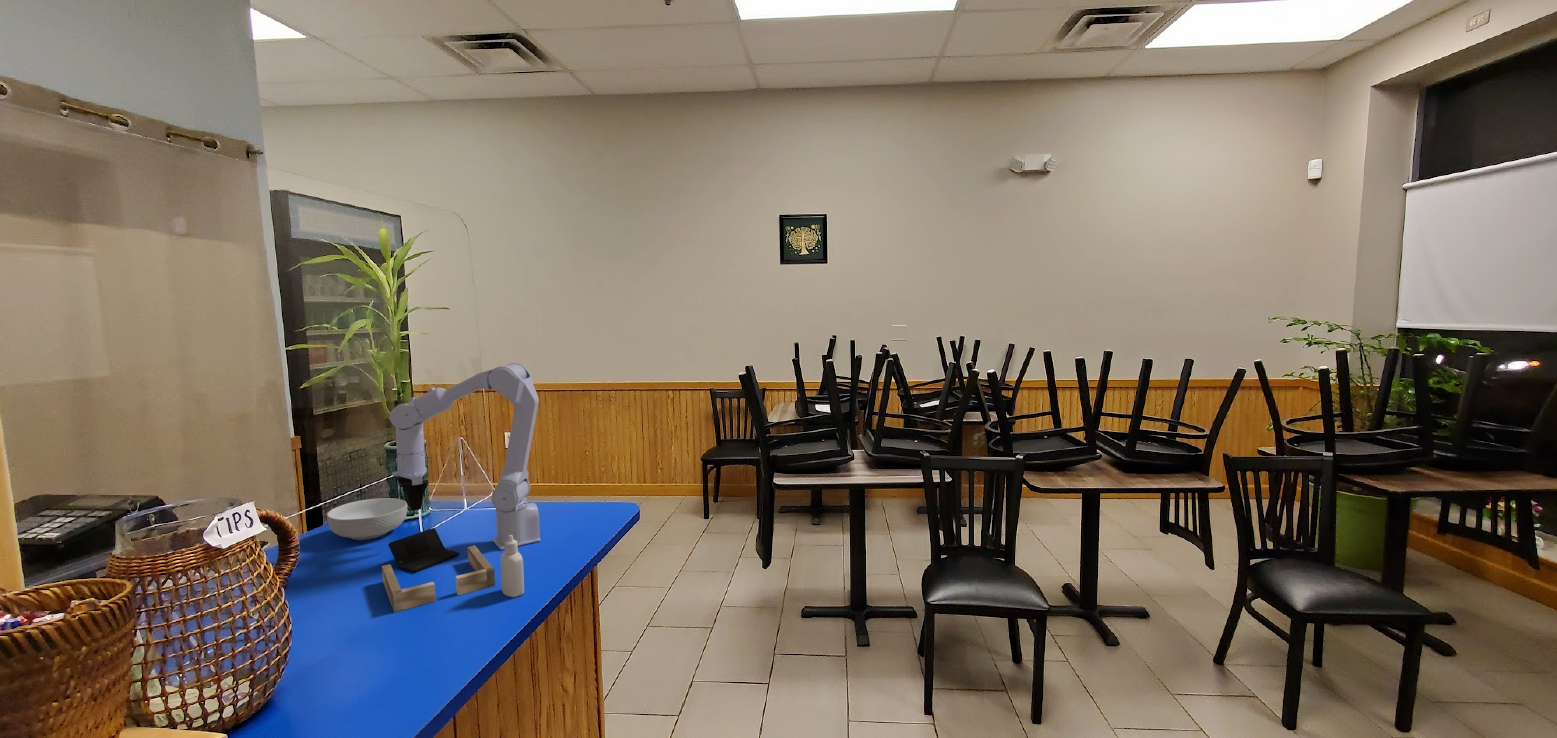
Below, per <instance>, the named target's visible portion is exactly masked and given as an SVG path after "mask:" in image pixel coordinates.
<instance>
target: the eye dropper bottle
mask: <svg viewBox="0 0 1557 738" xmlns="http://www.w3.org/2000/svg"><path fill="white" fill-rule="evenodd" d="M504 545H505V549H504V552H503V553H501V555H500V577H501V579H500V580H501V581H500V582H501V584H500V585H501V592H502V593H503V595H505V596H506V597H509V598H516V597H520V596H522V595H524V594H525V581H524V579H525V578H524V577H525V576H524V559H523V556H522V554H521V553H520V552H519V549H518V547H519V546H518V542H517V541H516V540H514V539H513V535H509V538H508V541H506V542H505V543H504Z"/></svg>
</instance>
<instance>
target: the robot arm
mask: <svg viewBox="0 0 1557 738" xmlns="http://www.w3.org/2000/svg"><path fill="white" fill-rule="evenodd" d="M479 390H486V391H490V390H493V391H495V392H496V393H498V394H500V395H501V396H503V397H505V398H506V399H507V400H508V401H509V402H510V404H512V405H513V406H514V410H513V416H512V423H511V426H510V427H511V428H510V433H509V438H508V442H507V443H508V445H507V450H506V454H505V460H504V466H503V470H502V472H501V474H500V477H499V479H498V482H497V486H496V487H495V488H494V490H493V491H492V493H491V503H492V505H493V507H495V517H496V518H495V522H496V536H497V537H493V538H491V541H492V542H493V543H494V544H495V545H496V546H497V547H498V549H499V550H501V551H502V550H505V545H504V543H505V542H506V541H508V538H509V535H513V539H514V540H516V541H517V542H518V547H519V546H523V545H528V544H532V543H537V542H540V541H541V540H542V539H541V537H540V514H539V509H538V506H537V504H536V503H535V502H528V500H527V496H528V495H529V494H530V490H531V485H530V482H529V475H530V473H529V471H528V469H527V468H528V464H529V463H528V462H529V457H530V452H531V447H532V440H533V436H534V430H535V425H536V420H537V413H538V409H539V408H538V407H539V403H540V398H539V395H538V393H537V391H536V387H535V386H534V383H533V376H532V373H530V371H528V369H527V368H526V367H525V366H523V364H520V363H517V362H511V363H508V364H507V365H502V366H497V367H494V368H492V369H489V370H488V369H487V370H486V371H482V372H479V373H476V374H474V375H473V376H471V377H469V378H467V379H465V380H463V381H461V382H459V383H457V384H454V385H453V386H452V387H449V388H447V389H446V388H444V387H437V388H435V387H431V388H428V389H427V391H426V393H423V394H422V395H419V396H417V397H415V396H414V397H411V398H409V399H408V400H409V402H406V403H400V404H397V405H396V406H395V407H394V408H392V409H391V410H390V411H391V412H390V413H389V420H390V423H391V424H392V425H393V427H395V443H396V457H397V458H396V459H397V460H396V461H397V470H395V471H392V473H391V475H392V477H396V480H397V481H398V483H399V484H400V486H401V489H402V493H403V495H404V501H406V503H407V506H409V509H410V511H411V512H413V511H414V512H415V511H419V510H421V509H422V506H423V502H424V494H425V492H426V489H427V487H428V486H429V483H430V481H429V480H428V479H426V480H425V479H424V476H425V474H426V473H427V471H428V469H427V467H426V452H425V451H426V450H425V438H424V437H425V434H424V423H425V422H426V421H428V420H429V419H431V418H433V417H436V416H438V415H439V414H442V413H444V412H446V411H448V410H450V409H452V408H453V405H454V403H455V401H457V400H459V399H461V398H464V397H466V396H468V395H470V394H472V393H475V392H476V391H479ZM423 479H424V480H423Z"/></svg>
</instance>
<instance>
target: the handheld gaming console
mask: <svg viewBox="0 0 1557 738" xmlns="http://www.w3.org/2000/svg"><path fill="white" fill-rule="evenodd" d="M387 546H388V548H389V550H390V552H391V554H392V556H393V558H394V560H395V562H396V564H397V569H398V570H403V571H405V572H409V573H411V574H418V573H420V572H422V571H425V570H427V569H430V568H432V567H435V566H437V565H440V564H442V563H445V562H448V561H450V560H453V559H454V558H457V556H458V557H460V552H458V551H456V550H451V549H447V548H446V547H445V546H444V544H443V541H442V540H441V537H440V536H439V534H438V532H437V530H436V528H434V527H432V528H429V529H426V530H423V531H420V532H416V533H415V534H411V535H409V536H405V537H402V538H400V539H396V540H394V541H391V542H389V543H388V545H387Z"/></svg>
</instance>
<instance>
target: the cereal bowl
mask: <svg viewBox="0 0 1557 738" xmlns="http://www.w3.org/2000/svg"><path fill="white" fill-rule="evenodd" d="M407 514H408V505H407V503H406V500H405V499H404V500H403V499H401V498H393V497H392V498H389V497H386V498H385V497H383V498H381V497H379V498H369V499H362V500H356V501H352V502H348V503H345V504H341V505H339V506H336V507H335V508H332V509H330V510H329V511H328V512H327V515H326V519H327V525H328V528H329V529H330V530H331V532H333V533H334V534H335V535H337V536H339V537H343V538H350V539H351V540H355V541H366V540H373V539H376V538H379V537H383V536H385V535H386V534H387V533H388V532H391V531H393V530H395V529H396V528H398V527H400V526H401V524H402V523H403V522H404V521H405V520H406V517H407ZM372 538H373V539H372Z"/></svg>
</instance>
